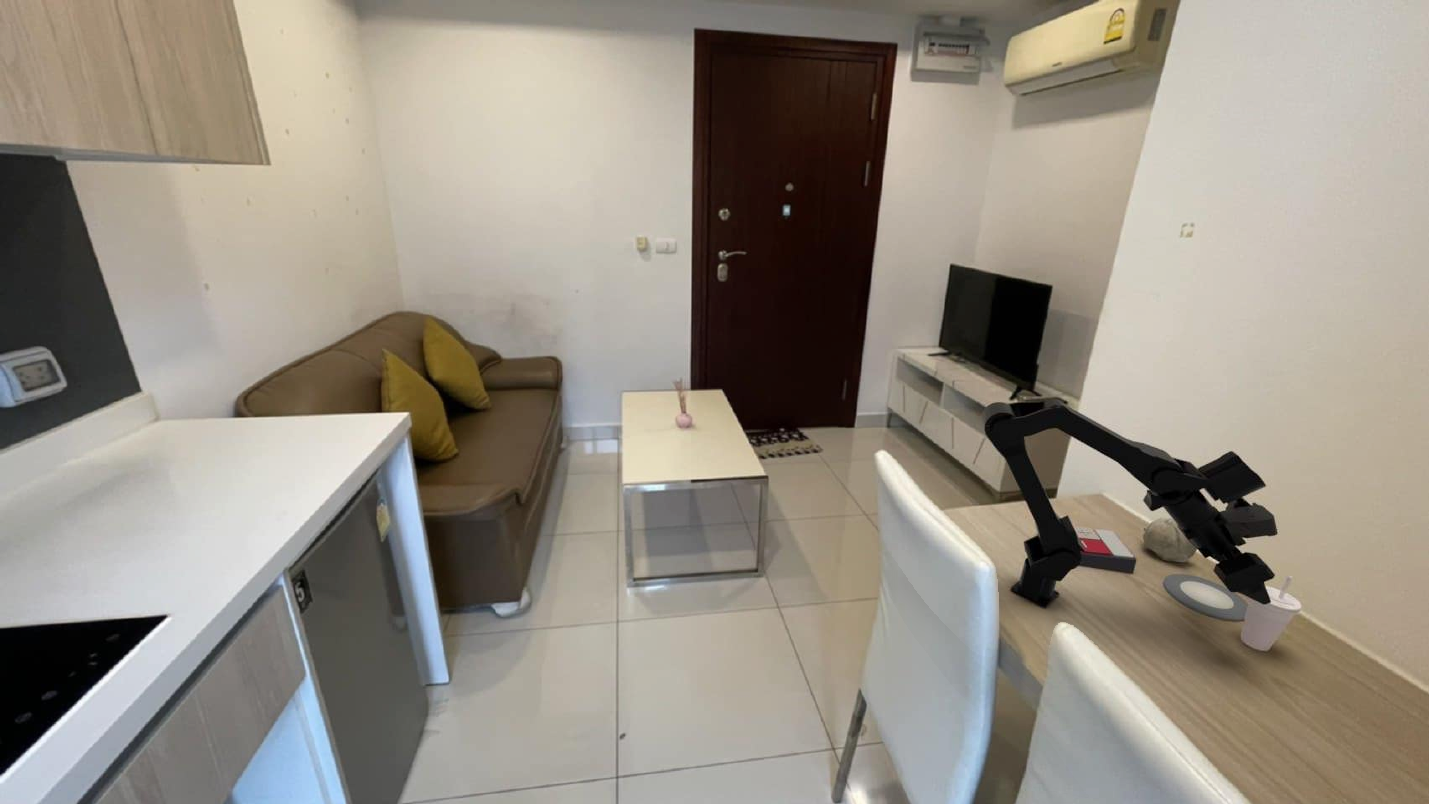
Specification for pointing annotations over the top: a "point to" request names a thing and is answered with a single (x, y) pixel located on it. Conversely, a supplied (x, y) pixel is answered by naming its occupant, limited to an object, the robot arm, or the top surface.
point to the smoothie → (1269, 618)
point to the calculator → (1104, 550)
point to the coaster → (1206, 597)
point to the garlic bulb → (1168, 541)
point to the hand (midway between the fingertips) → (1252, 585)
